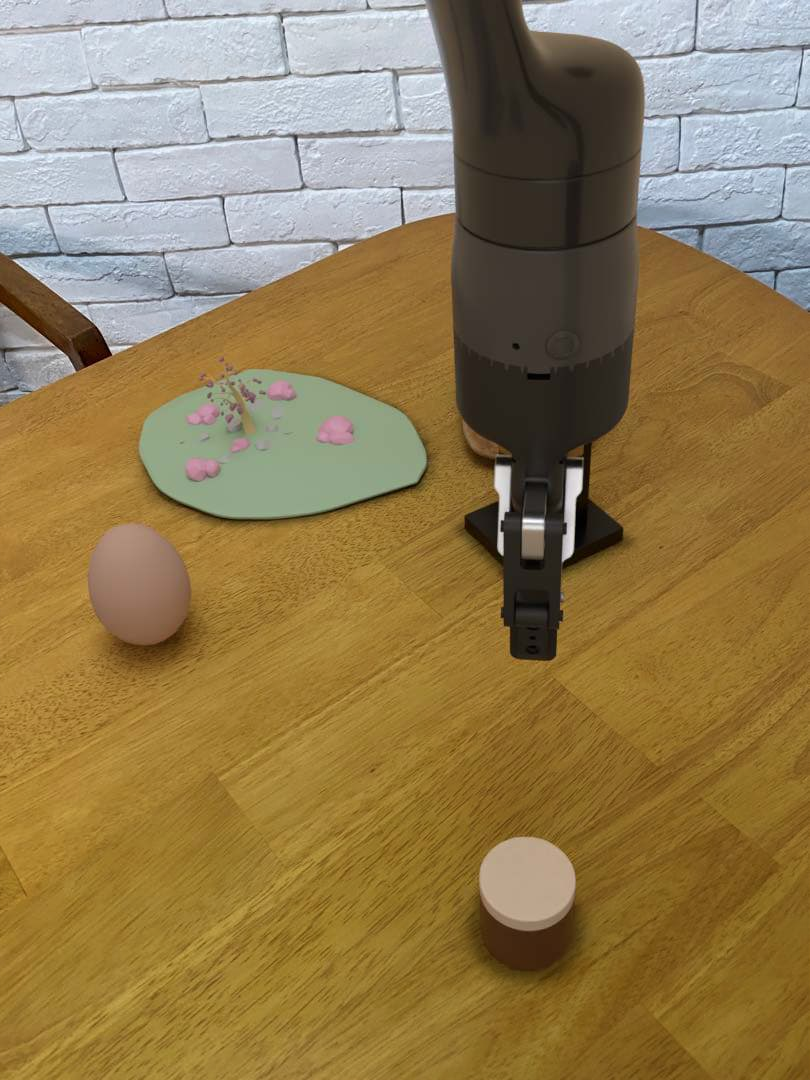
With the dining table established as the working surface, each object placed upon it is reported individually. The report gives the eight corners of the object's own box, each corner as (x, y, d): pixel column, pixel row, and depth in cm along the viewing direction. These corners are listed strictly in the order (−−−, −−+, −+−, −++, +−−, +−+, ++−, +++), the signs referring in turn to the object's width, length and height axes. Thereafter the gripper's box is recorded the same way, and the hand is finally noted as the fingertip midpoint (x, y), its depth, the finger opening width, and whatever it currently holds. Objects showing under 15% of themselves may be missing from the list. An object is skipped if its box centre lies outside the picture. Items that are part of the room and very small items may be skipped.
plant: (442, 379, 103) (438, 290, 97) (417, 526, 88) (411, 432, 82) (177, 375, 106) (158, 289, 100) (109, 517, 91) (81, 425, 85)
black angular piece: (622, 540, 85) (631, 435, 79) (524, 587, 82) (526, 481, 75) (558, 486, 90) (562, 383, 84) (464, 528, 87) (460, 424, 81)
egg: (111, 605, 83) (78, 503, 77) (203, 595, 83) (178, 493, 77) (100, 674, 78) (64, 570, 72) (199, 663, 78) (171, 559, 72)
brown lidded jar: (591, 940, 61) (595, 890, 58) (514, 988, 59) (515, 938, 56) (536, 872, 64) (538, 820, 61) (463, 915, 63) (460, 864, 59)
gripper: (469, 233, 53) (476, 502, 63) (433, 408, 42) (449, 695, 53) (632, 233, 51) (612, 507, 62) (638, 413, 41) (612, 706, 52)
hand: (537, 593), depth 57 cm, fingers open, 8 cm apart
